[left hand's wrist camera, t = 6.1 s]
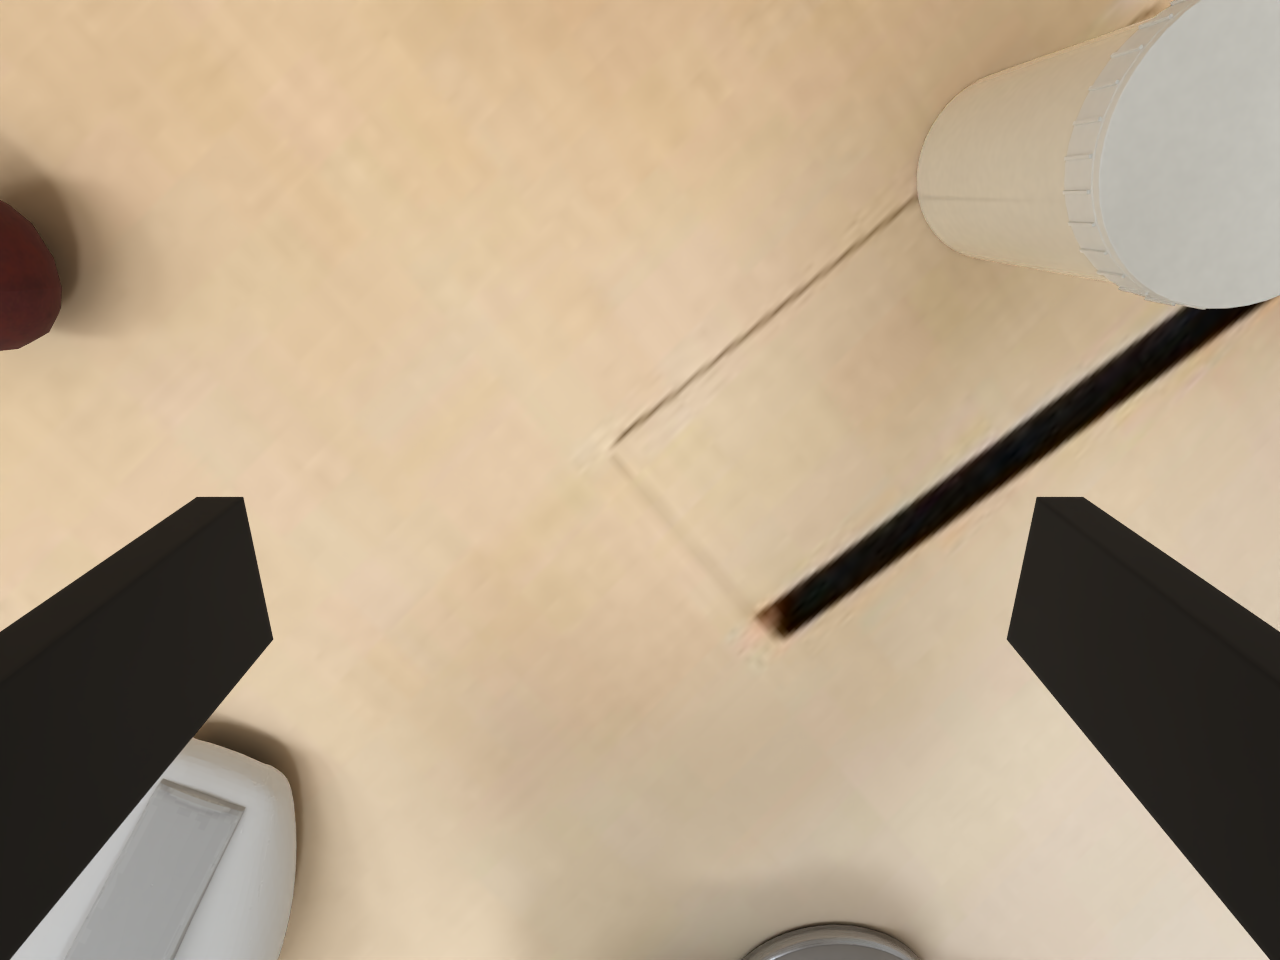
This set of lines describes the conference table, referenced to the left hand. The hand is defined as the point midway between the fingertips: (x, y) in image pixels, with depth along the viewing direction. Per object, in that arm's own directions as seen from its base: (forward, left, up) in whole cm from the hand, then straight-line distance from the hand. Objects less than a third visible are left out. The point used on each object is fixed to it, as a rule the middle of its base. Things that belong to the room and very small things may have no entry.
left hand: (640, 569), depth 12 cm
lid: (+6, -18, -12) cm, 22 cm away
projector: (-34, +33, -27) cm, 54 cm away
